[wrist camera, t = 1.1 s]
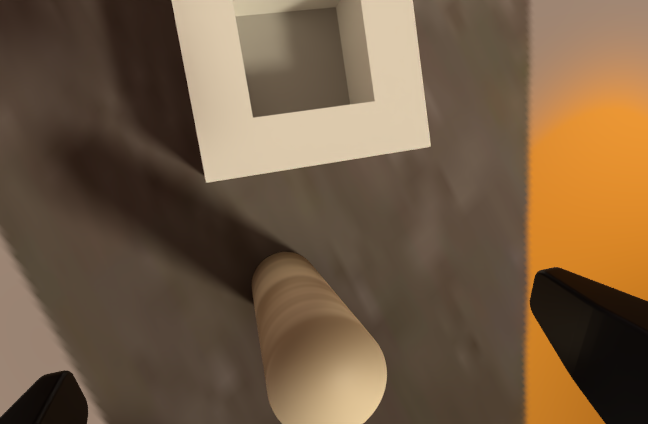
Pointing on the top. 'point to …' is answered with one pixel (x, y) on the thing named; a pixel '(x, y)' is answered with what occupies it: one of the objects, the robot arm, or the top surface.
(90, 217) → the top surface
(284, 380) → the dowel
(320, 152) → the socket
